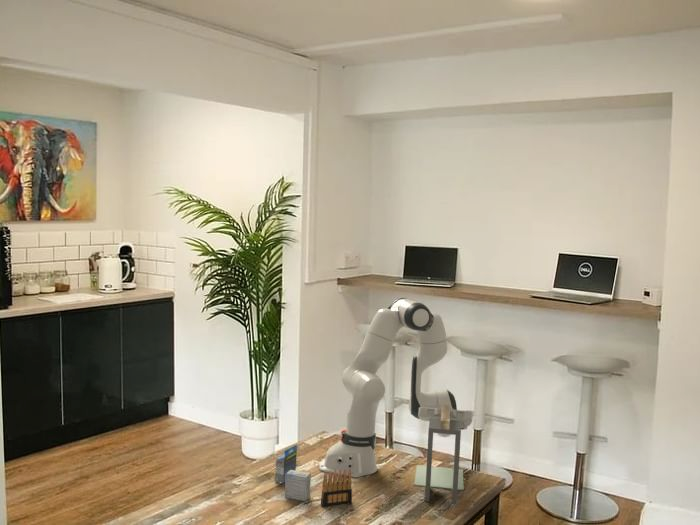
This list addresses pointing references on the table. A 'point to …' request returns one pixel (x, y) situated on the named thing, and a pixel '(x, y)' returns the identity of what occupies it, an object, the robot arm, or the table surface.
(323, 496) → the ammunition clip
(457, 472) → the stand
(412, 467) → the table surface
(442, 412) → the beech bar
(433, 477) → the mat
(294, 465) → the label tape box
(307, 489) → the medicine box
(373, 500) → the table surface
